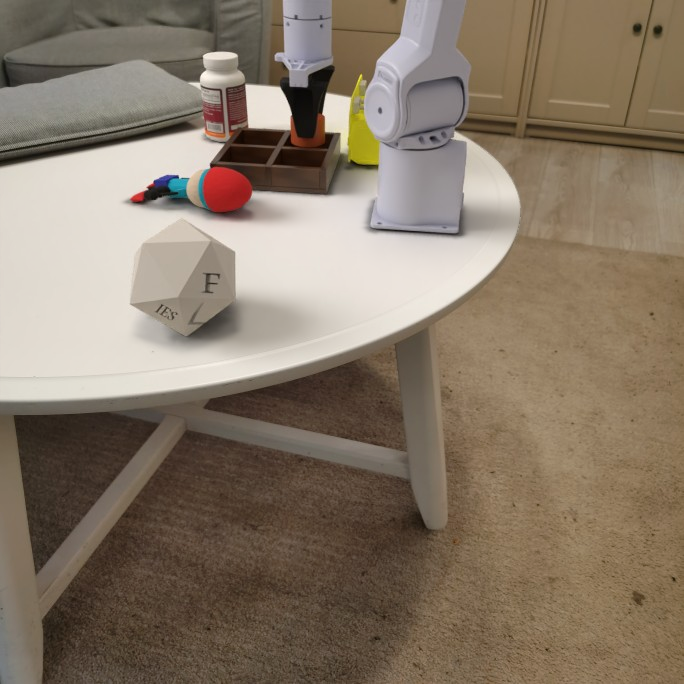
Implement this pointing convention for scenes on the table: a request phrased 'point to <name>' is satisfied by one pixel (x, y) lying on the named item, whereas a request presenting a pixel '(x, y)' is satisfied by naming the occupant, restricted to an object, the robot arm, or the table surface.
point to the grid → (280, 160)
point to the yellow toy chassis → (361, 130)
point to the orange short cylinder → (310, 142)
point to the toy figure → (203, 189)
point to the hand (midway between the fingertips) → (308, 130)
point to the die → (183, 277)
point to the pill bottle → (223, 96)
